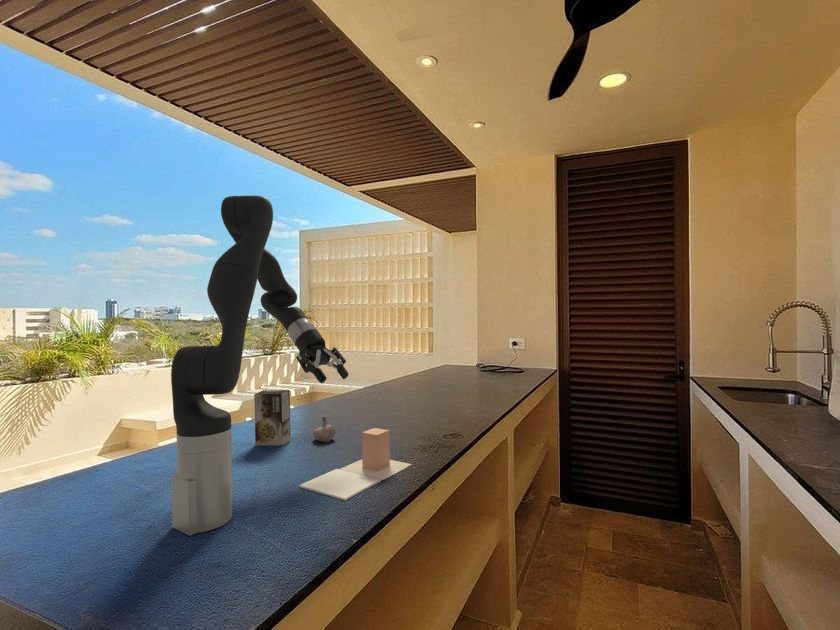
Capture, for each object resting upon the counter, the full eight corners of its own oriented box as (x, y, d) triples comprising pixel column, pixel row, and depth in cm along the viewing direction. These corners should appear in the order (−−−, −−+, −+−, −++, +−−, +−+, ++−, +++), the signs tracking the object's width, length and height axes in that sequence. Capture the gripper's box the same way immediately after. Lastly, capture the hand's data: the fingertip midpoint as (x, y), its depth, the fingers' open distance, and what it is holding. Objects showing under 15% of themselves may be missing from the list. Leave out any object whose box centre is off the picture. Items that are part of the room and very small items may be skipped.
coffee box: (291, 440, 131) (290, 389, 132) (282, 446, 125) (282, 393, 125) (264, 439, 132) (263, 389, 132) (254, 445, 126) (253, 393, 126)
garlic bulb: (329, 444, 126) (329, 418, 126) (307, 443, 128) (307, 417, 128) (339, 437, 133) (339, 413, 134) (318, 436, 135) (318, 412, 135)
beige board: (345, 501, 85) (345, 498, 85) (299, 487, 93) (299, 485, 93) (380, 481, 95) (380, 479, 95) (336, 471, 103) (336, 468, 103)
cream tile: (383, 480, 96) (383, 479, 96) (339, 469, 104) (339, 469, 104) (411, 464, 106) (411, 464, 106) (370, 456, 114) (370, 455, 114)
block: (377, 471, 102) (377, 435, 102) (362, 467, 104) (361, 432, 104) (389, 465, 106) (389, 430, 106) (374, 462, 109) (374, 427, 109)
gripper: (292, 328, 112) (323, 373, 105) (330, 327, 124) (359, 367, 117) (280, 347, 115) (309, 392, 108) (318, 344, 127) (346, 384, 120)
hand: (335, 379), depth 113 cm, fingers open, 8 cm apart
